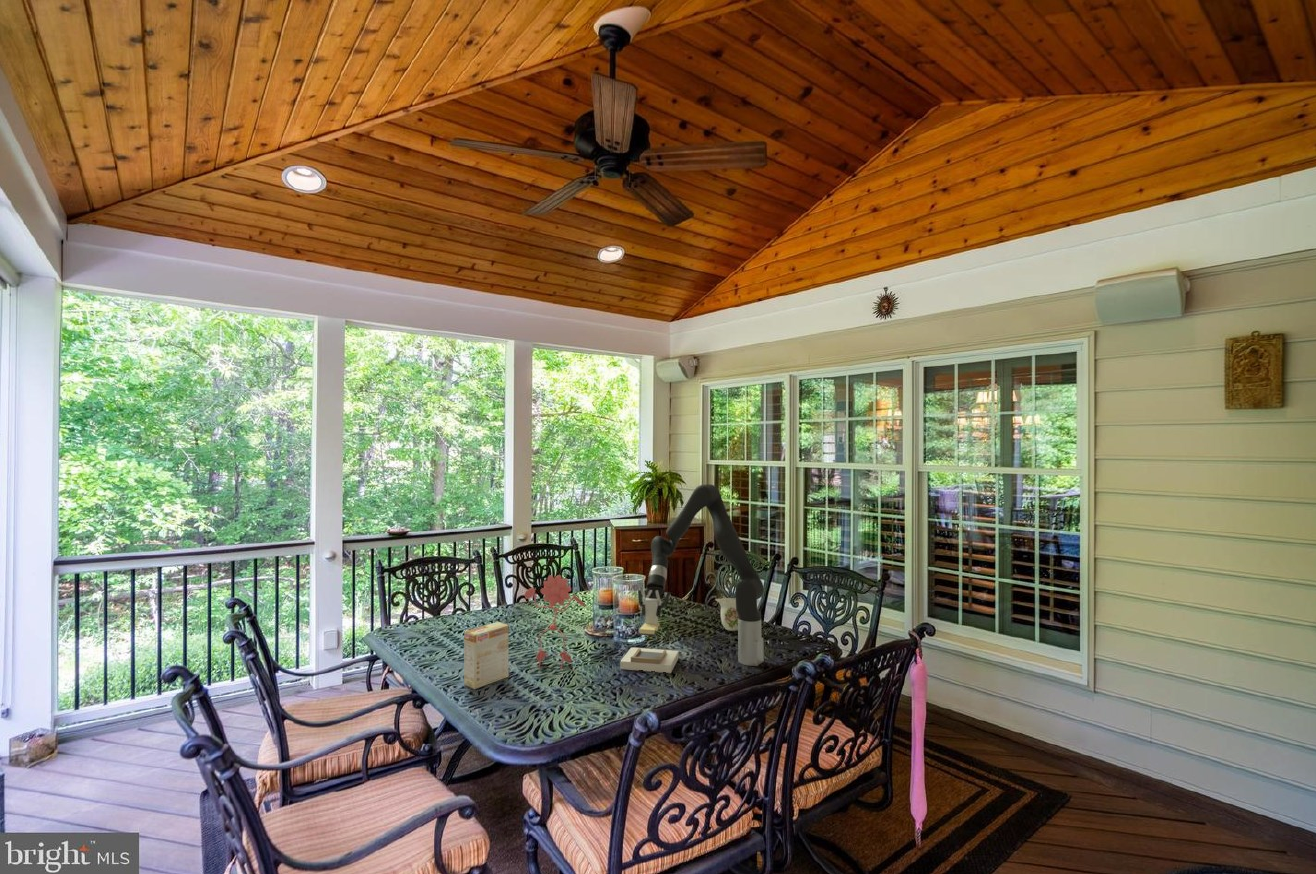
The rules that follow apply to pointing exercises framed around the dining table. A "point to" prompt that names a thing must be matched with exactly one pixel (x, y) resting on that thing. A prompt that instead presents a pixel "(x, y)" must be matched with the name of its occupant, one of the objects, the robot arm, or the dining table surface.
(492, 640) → the coffeecake box
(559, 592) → the red stick figure
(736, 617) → the pitcher
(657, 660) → the dock
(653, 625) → the beige l-shaped block
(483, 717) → the dining table surface
